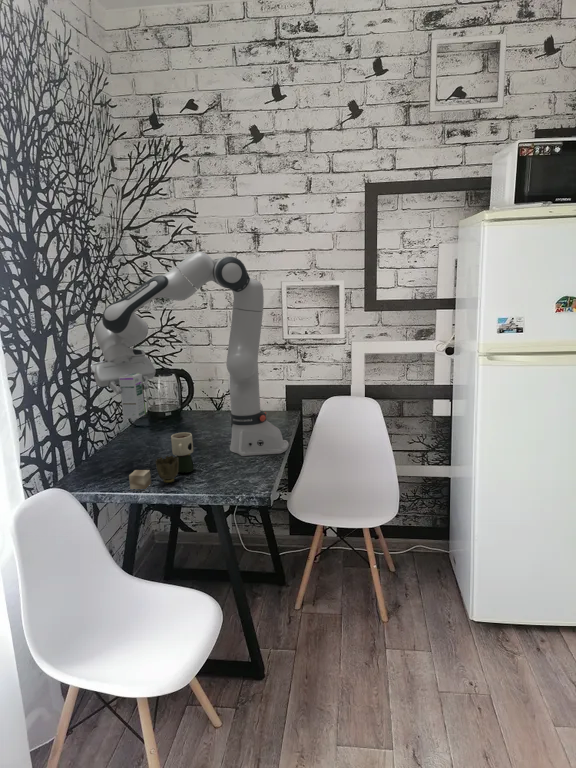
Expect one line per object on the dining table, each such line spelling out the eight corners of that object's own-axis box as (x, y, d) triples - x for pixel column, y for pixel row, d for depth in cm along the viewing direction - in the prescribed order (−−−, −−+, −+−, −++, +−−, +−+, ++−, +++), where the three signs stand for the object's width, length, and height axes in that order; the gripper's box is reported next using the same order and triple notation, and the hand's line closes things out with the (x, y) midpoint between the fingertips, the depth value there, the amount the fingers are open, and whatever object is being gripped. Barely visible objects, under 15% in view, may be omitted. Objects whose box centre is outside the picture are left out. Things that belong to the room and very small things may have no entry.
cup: (160, 488, 177) (158, 464, 175) (155, 481, 183) (152, 458, 182) (183, 483, 180) (181, 459, 178) (177, 476, 186) (174, 453, 185)
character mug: (193, 476, 186) (190, 439, 183) (172, 478, 186) (168, 440, 183) (197, 465, 196) (193, 430, 194) (176, 466, 196) (173, 431, 194)
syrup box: (138, 418, 186) (134, 375, 183) (122, 418, 187) (118, 375, 184) (146, 414, 191) (142, 372, 188) (130, 414, 192) (126, 372, 189)
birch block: (151, 484, 181) (149, 469, 180) (145, 490, 176) (143, 475, 175) (136, 484, 182) (135, 469, 181) (130, 490, 177) (128, 475, 176)
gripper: (90, 357, 184) (103, 390, 178) (148, 349, 196) (162, 380, 190) (87, 369, 189) (100, 401, 183) (144, 361, 201) (158, 391, 195)
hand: (132, 390), depth 187 cm, fingers closed on syrup box, 8 cm apart
